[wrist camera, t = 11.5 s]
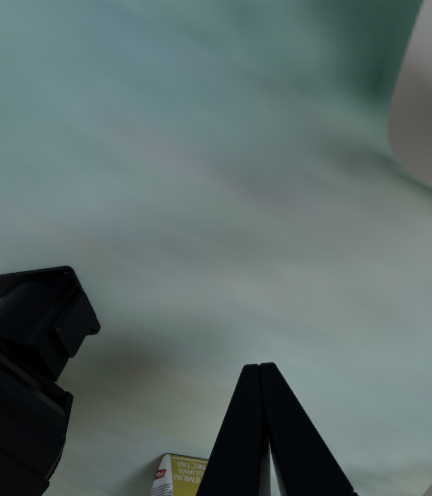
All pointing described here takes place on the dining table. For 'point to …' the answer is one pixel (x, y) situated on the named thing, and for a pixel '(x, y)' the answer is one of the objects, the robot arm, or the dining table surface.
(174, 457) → the juice carton
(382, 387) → the dining table surface
